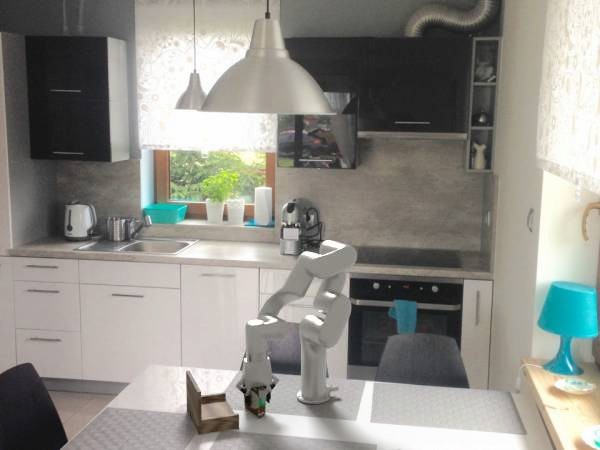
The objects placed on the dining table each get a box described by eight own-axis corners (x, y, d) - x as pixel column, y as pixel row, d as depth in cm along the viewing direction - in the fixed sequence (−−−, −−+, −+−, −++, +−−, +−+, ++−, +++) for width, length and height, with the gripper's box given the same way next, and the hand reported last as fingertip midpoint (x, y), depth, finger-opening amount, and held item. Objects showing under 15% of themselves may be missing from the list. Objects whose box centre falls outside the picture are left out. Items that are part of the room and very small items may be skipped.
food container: (275, 415, 251) (274, 388, 249) (260, 420, 248) (259, 392, 246) (257, 403, 261) (256, 377, 259) (242, 407, 258) (242, 381, 256)
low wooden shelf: (225, 405, 260) (224, 366, 258) (239, 428, 242) (238, 386, 239) (186, 410, 256) (186, 370, 253) (198, 434, 237) (197, 392, 235)
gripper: (277, 348, 257) (277, 395, 260) (230, 355, 251) (231, 402, 254) (283, 355, 250) (284, 403, 253) (235, 362, 244) (237, 411, 247)
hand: (258, 402), depth 254 cm, fingers closed on food container, 6 cm apart
